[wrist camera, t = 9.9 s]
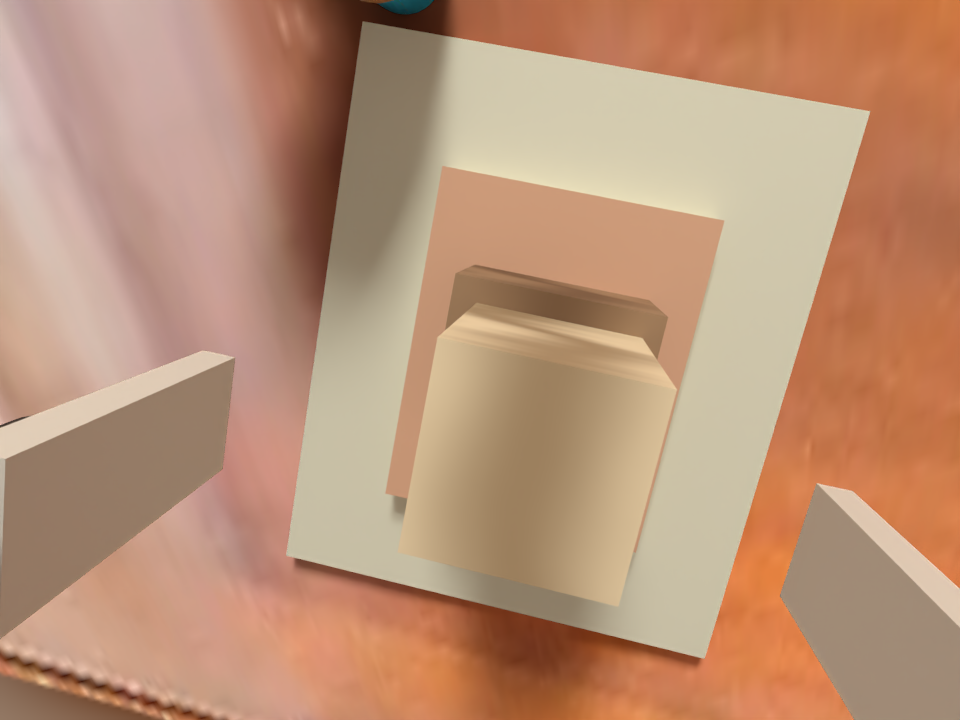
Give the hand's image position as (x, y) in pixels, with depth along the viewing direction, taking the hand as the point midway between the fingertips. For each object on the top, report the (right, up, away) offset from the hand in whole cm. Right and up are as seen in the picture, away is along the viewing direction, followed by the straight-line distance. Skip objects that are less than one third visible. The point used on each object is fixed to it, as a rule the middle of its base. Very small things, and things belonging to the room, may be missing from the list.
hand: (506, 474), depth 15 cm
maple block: (+1, +1, +8) cm, 8 cm away
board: (+2, +3, +15) cm, 15 cm away
